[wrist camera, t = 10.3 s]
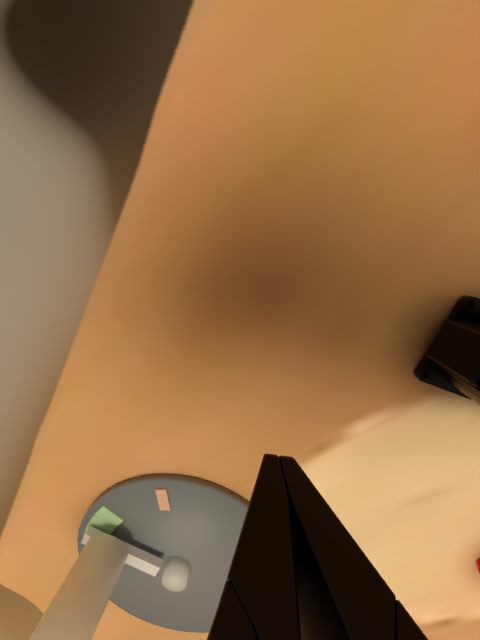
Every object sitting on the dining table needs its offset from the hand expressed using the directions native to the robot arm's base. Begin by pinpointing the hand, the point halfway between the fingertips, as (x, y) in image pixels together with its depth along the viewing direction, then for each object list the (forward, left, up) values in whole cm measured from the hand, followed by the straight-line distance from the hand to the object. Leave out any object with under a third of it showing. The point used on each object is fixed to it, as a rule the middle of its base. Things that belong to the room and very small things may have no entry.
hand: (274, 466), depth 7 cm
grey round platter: (-1, +26, -12) cm, 28 cm away
